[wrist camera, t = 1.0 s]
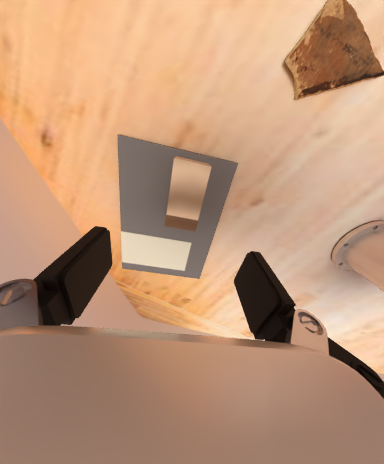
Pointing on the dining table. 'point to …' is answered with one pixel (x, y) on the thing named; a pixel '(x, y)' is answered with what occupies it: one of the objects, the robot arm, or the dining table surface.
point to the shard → (332, 52)
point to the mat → (165, 209)
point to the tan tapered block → (186, 193)
